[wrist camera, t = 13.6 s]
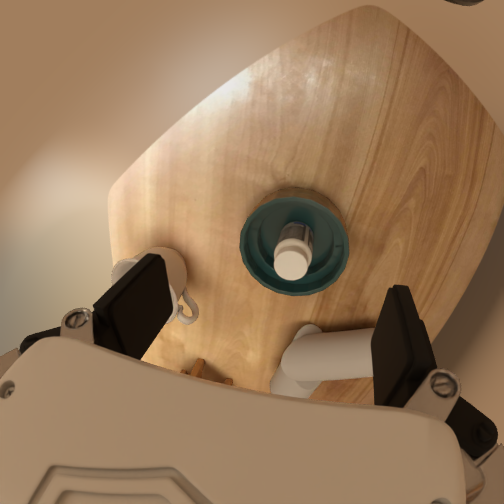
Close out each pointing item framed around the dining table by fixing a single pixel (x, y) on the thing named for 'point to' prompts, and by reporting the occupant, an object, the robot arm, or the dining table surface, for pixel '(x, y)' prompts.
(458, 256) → the dining table surface
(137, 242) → the dining table surface
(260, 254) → the bowl
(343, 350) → the beige tubular fitting
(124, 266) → the teacup
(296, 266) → the pill bottle
